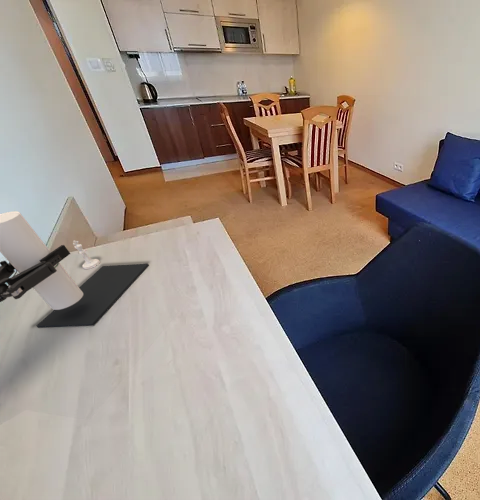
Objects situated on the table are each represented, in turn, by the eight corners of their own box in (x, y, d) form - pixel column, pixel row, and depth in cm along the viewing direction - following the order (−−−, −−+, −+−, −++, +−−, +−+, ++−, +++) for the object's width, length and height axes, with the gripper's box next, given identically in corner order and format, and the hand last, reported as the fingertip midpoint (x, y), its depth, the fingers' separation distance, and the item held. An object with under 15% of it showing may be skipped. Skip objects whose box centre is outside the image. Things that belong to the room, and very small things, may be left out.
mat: (37, 327, 81) (35, 325, 81) (104, 267, 102) (102, 265, 102) (94, 325, 80) (92, 323, 80) (149, 265, 101) (148, 263, 101)
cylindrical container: (81, 287, 86) (19, 208, 71) (85, 299, 81) (20, 217, 67) (49, 301, 82) (-23, 220, 67) (52, 314, 77) (-25, 230, 63)
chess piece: (79, 268, 103) (61, 244, 97) (91, 260, 107) (74, 236, 101) (91, 269, 102) (73, 245, 96) (103, 260, 106) (86, 236, 100)
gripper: (-75, 331, 62) (25, 263, 81) (15, 328, 61) (96, 259, 80) (-110, 305, 58) (5, 240, 77) (-13, 301, 57) (79, 235, 75)
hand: (51, 250), depth 78 cm, fingers closed on cylindrical container, 7 cm apart
